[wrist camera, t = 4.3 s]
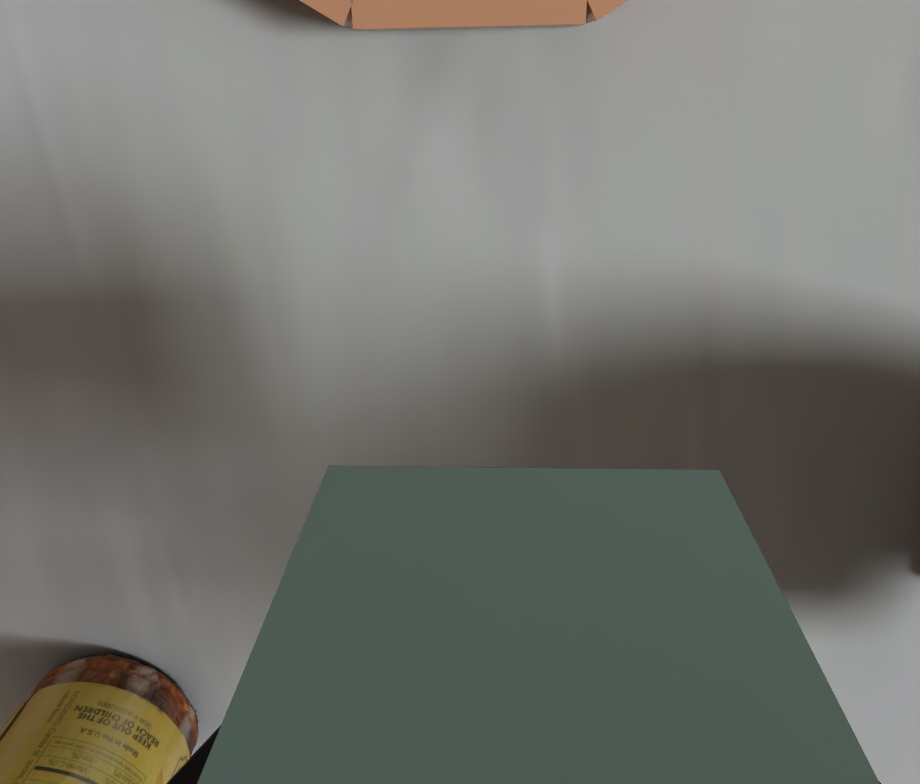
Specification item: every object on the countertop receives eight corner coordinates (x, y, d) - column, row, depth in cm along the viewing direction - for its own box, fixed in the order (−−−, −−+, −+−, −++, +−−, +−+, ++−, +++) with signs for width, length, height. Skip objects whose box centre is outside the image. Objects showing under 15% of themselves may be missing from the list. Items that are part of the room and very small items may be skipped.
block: (719, 469, 9) (939, 899, 4) (675, 739, 11) (791, 1207, 7) (328, 464, 9) (164, 864, 5) (361, 729, 11) (268, 1172, 7)
